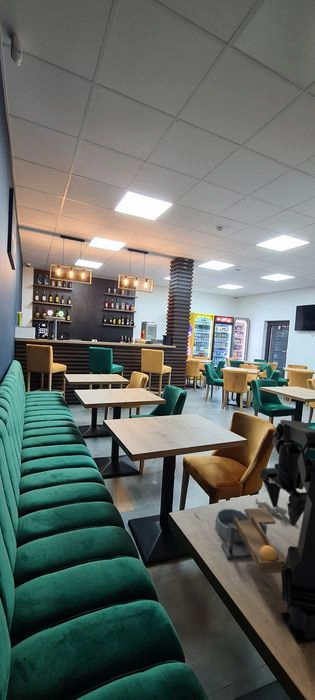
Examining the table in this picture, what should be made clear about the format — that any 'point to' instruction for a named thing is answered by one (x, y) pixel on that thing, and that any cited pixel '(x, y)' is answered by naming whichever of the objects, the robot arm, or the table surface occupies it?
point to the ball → (267, 553)
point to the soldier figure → (272, 510)
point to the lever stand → (237, 544)
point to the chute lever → (258, 538)
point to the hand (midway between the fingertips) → (283, 515)
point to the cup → (228, 517)
